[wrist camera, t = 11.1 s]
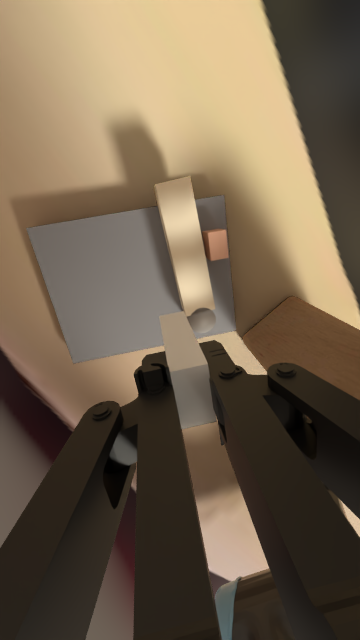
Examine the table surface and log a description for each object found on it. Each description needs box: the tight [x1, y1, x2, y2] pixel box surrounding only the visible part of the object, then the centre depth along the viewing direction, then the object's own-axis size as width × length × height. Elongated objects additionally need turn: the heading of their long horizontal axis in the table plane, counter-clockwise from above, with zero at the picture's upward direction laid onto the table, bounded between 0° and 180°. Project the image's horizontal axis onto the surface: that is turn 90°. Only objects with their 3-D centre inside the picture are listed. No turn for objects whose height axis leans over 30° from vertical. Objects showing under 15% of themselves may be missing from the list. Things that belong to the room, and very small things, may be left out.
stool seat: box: [26, 195, 236, 364], centre depth 33 cm, size 17×22×6 cm
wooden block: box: [243, 296, 360, 418], centre depth 33 cm, size 10×10×20 cm
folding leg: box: [154, 176, 216, 333], centre depth 31 cm, size 17×4×4 cm, turn 13°
